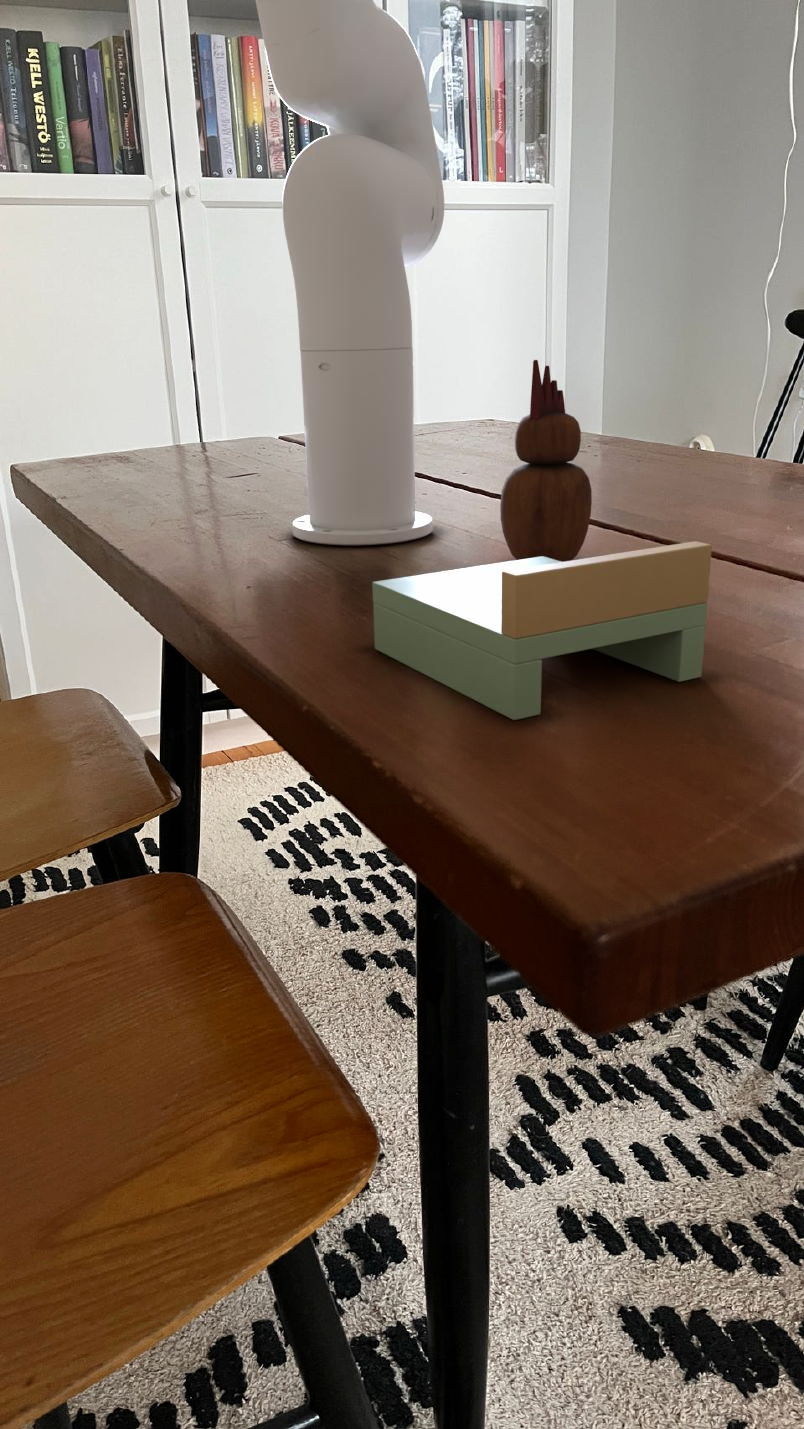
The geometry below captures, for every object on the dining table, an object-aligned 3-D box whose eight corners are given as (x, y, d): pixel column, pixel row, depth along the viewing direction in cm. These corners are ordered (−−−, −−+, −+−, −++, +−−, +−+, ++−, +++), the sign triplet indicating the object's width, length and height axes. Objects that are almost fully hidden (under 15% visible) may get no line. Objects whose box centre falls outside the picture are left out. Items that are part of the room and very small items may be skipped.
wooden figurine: (529, 574, 78) (533, 361, 73) (487, 560, 83) (489, 359, 78) (602, 564, 81) (612, 358, 76) (558, 551, 86) (565, 356, 81)
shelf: (374, 649, 61) (370, 529, 59) (541, 618, 67) (544, 507, 64) (513, 721, 50) (516, 575, 47) (701, 677, 55) (712, 544, 53)
